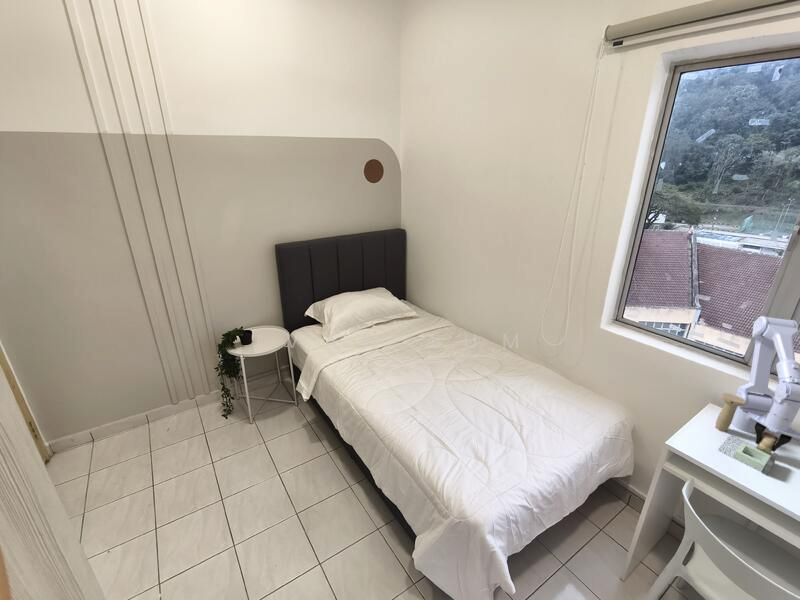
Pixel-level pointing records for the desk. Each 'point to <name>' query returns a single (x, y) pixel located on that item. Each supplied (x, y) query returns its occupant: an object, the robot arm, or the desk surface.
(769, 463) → the board
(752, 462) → the collar block
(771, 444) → the dowel
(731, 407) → the handle
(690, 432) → the desk surface
